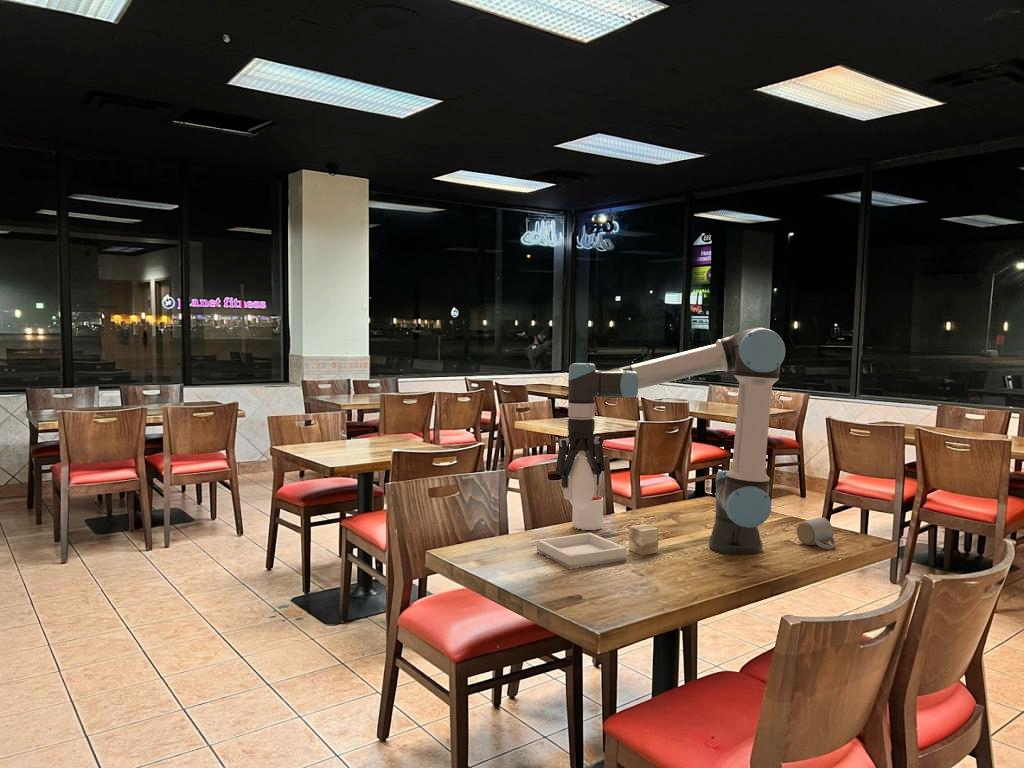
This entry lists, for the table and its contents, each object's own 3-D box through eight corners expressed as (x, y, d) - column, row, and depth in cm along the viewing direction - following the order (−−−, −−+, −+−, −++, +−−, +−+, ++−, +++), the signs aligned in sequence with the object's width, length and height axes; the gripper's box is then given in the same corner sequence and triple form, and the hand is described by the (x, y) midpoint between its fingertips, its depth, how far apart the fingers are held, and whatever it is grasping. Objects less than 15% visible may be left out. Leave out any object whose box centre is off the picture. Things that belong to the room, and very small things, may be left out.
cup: (566, 526, 244) (566, 496, 243) (592, 522, 248) (592, 493, 247) (582, 533, 235) (582, 502, 234) (608, 529, 239) (608, 499, 238)
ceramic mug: (794, 542, 224) (795, 517, 223) (813, 539, 227) (814, 514, 227) (822, 551, 214) (823, 526, 214) (842, 548, 218) (843, 522, 217)
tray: (626, 560, 206) (626, 547, 205) (569, 569, 197) (569, 556, 197) (590, 544, 222) (590, 532, 222) (536, 551, 214) (536, 540, 214)
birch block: (658, 552, 213) (658, 528, 213) (641, 555, 211) (641, 531, 210) (645, 547, 219) (645, 524, 218) (628, 549, 216) (629, 526, 216)
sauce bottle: (562, 506, 212) (562, 444, 210) (587, 504, 214) (588, 443, 213) (572, 512, 204) (573, 448, 203) (598, 510, 206) (599, 447, 205)
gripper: (604, 415, 215) (603, 492, 217) (542, 417, 206) (542, 498, 207) (619, 417, 209) (617, 497, 210) (556, 420, 199) (555, 503, 201)
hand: (580, 497), depth 209 cm, fingers closed on sauce bottle, 8 cm apart
